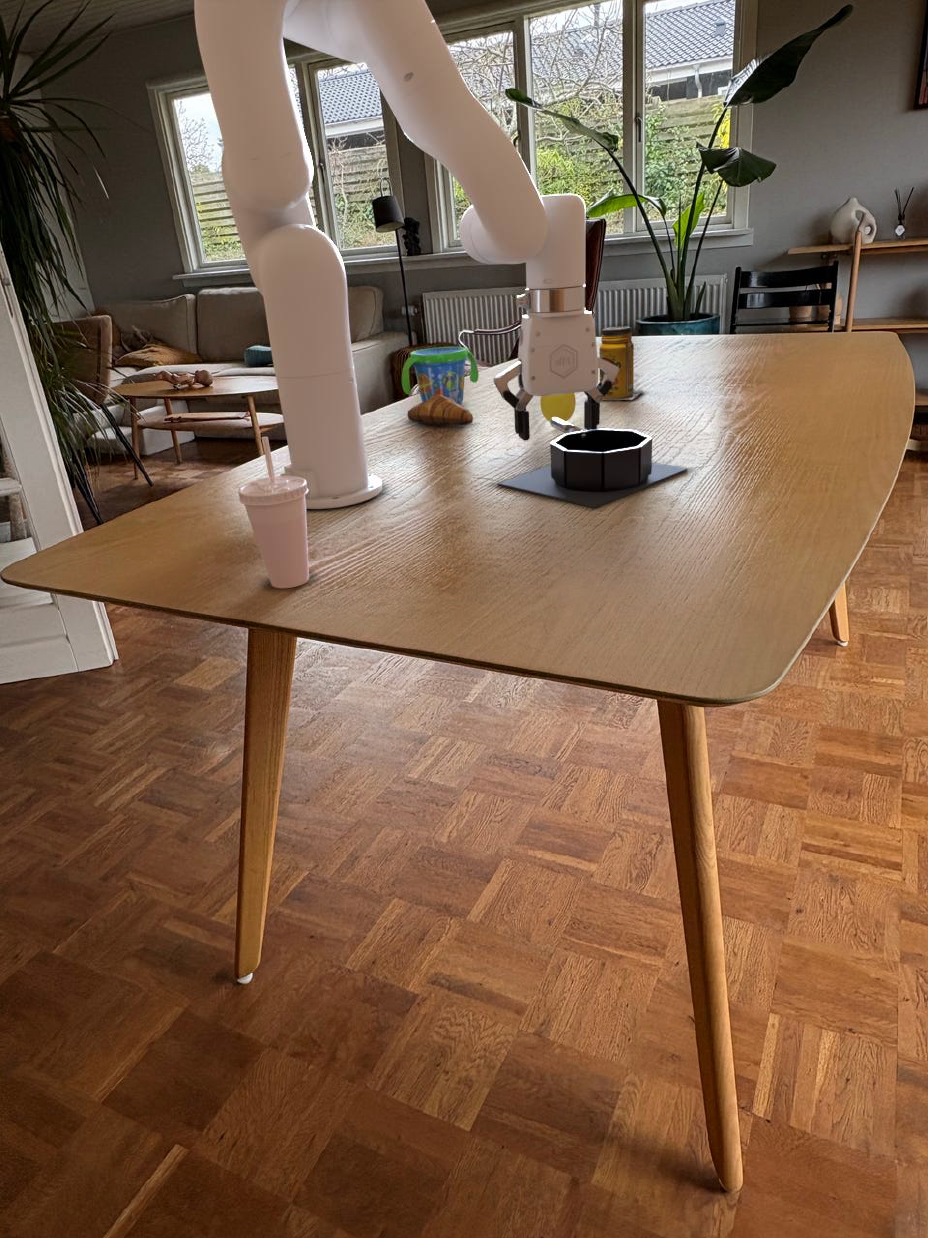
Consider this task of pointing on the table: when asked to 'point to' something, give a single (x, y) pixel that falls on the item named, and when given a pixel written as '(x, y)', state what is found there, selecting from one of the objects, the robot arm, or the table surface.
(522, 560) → the table surface
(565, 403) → the lemon
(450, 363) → the snack cup
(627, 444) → the black octagonal pot
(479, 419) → the table surface
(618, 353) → the condiment
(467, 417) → the croissant
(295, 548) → the smoothie
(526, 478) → the mat
